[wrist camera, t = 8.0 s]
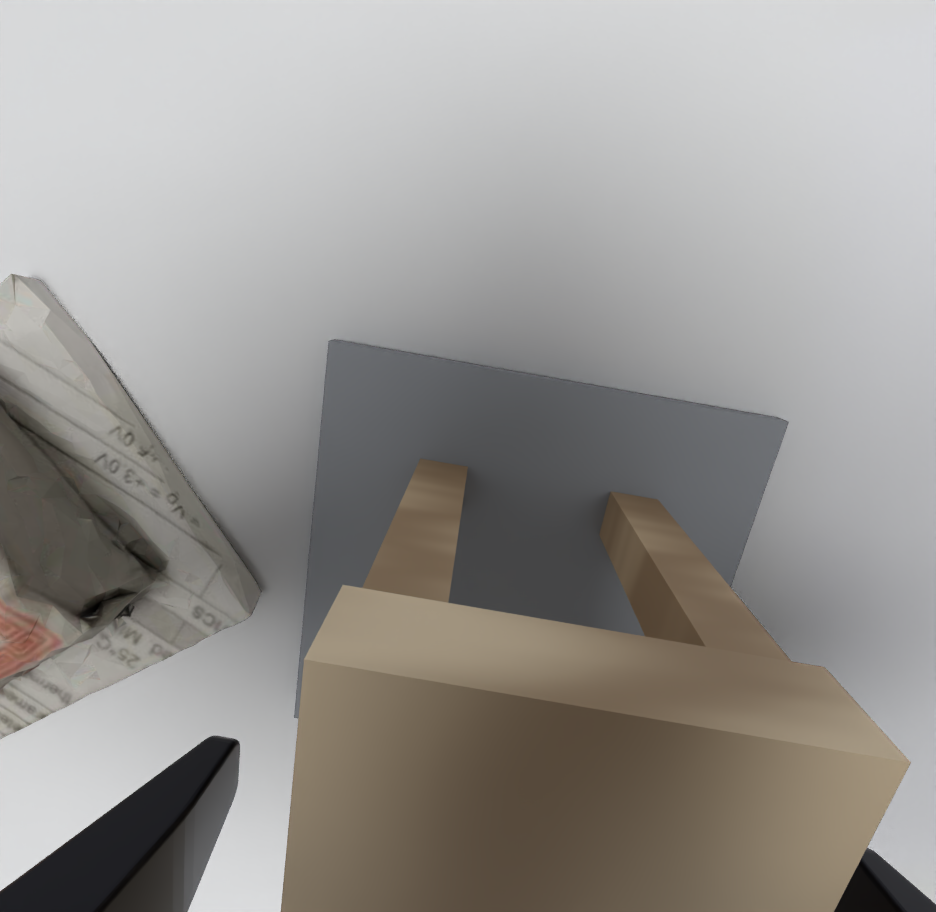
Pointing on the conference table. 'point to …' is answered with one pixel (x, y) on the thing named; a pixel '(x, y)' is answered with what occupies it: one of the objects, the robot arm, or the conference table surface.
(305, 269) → the conference table surface
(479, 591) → the mat
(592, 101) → the conference table surface
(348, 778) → the stool
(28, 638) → the packaged product
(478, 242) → the conference table surface
